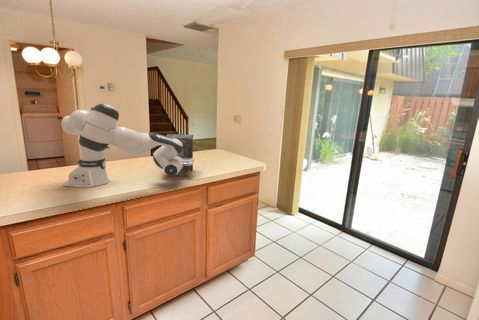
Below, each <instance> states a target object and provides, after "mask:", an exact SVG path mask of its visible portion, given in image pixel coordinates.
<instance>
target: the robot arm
mask: <svg viewBox="0 0 479 320" xmlns="http://www.w3.org/2000/svg"><path fill="white" fill-rule="evenodd" d="M90 109H91V110H87V109H77V110H74V111H73V112H72V113H71V114H70V115H65V116H64V117H63V118H62V120H61V128H62V130H63V131H64V132H65V133H66V135H67V134H68V135H75V136H79V139H78V144H79V145H80V156H81V159H79V160H78V161H77V162H76V164H78V166H77V167H76V168H74V169H72V171H70V172H69V174H68V178H67V180H65V182H64V183H63V186H64V187H74V188H88V189H89V188H93V187H97V186H102V185H105V184H107V183H109V182H110V179H109V176H108V174H107V168H106V165H107V164H106V158H105V152H104V151H106V149H107V150H110V145H112V146H114V147H115V148H118V149H119V150H122V151H123V152H125V153H127V154H131V155H133V156H134V155H136V156H137V155H143V154H145V153H147V152H149V151H150V150H152V149H154V148H156V147H158V146H159V148H158V149H156V150H155V151H154V152H153V154H152V159H153V162H154V164H155V165H156V166H157V167H158V168H160V169H161V170H163V172H164V174H166V176H167V177H176V176H175V175H177V174H178V173H179V172H180V170H181V169H182V167H183V166H191V165H193V166H194V164H195V160H194V159H195V158H194V157H193V158H180V157H178V156H177V155H178V154H180V153H181V152H182V151H183V144H182V143H181V141H180V140H178V139H177V138H172V137H167V136H166V135H164V134H160V133H157V132H154V131H153V132H139V131H137V130H135V129H132V128H130V127H129V128H128V127H126V126H117V122H118V121H119V117H120V113H119V111H118V110H117V109H116V108H115V107H113V106H112V105H109V104H106V103H105V104H104V103H99V104H96V105H95V106H93V107H92V106H91V107H90ZM160 146H161V147H160Z"/></svg>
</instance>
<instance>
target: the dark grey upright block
mask: <svg viewBox="0 0 479 320" xmlns="http://www.w3.org/2000/svg"><path fill="white" fill-rule="evenodd" d="M165 136H167V137H172V138H177V139H178V140H180V141H181V143H182V144H183V158H193V159H194V156H193V155H194V152H193V151H194V147H193V145H194V143H193V142H194V141H193V138H194V134H178V133H175V134H174V133H173V134H172V133H171V134H170V133H167V134H166V135H165ZM193 170H194V164H193V165H191V166H183V170H180V172H179V173H178V174H177V175H175V176H174V177H184V176H187V177H189V175H190V173H191V172H193Z"/></svg>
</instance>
